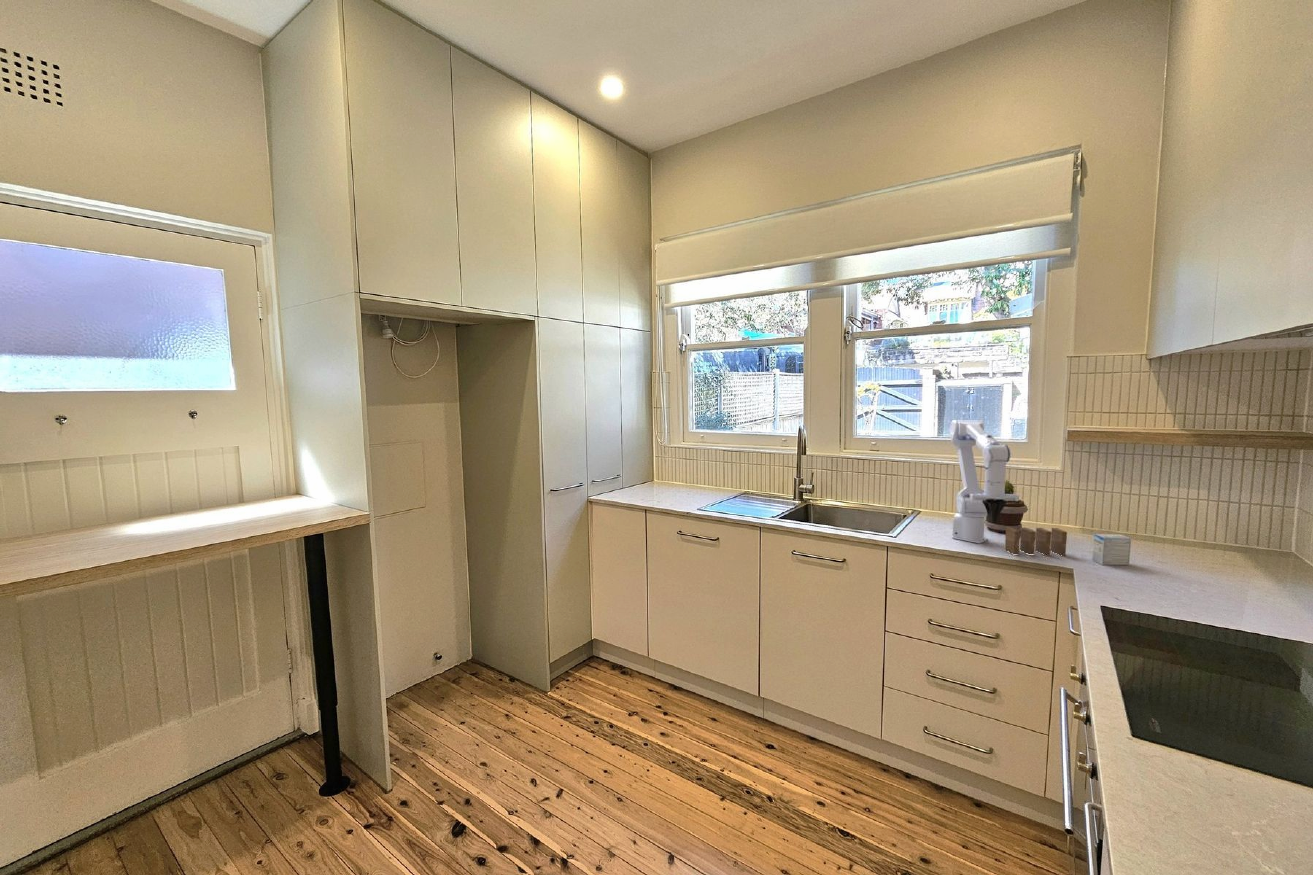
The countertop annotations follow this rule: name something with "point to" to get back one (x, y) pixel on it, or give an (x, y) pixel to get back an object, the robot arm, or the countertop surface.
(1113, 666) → the countertop surface
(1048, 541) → the domino
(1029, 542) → the domino
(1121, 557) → the medicine box
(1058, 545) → the domino
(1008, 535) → the domino
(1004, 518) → the flowerpot
